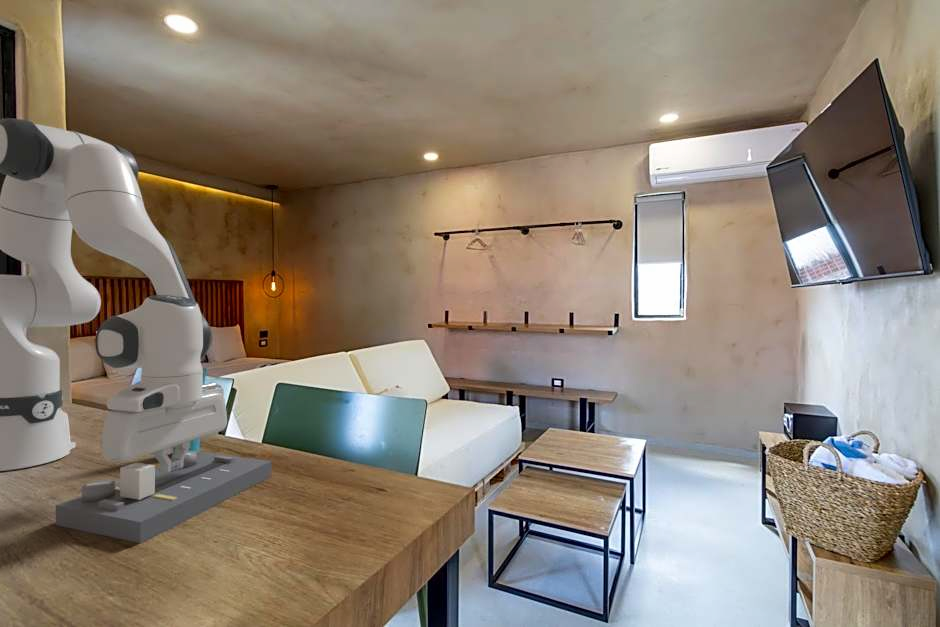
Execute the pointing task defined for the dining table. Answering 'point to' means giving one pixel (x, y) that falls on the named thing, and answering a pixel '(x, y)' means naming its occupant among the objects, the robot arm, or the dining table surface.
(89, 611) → the dining table surface
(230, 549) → the dining table surface
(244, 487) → the console
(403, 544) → the dining table surface
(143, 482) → the fader cap
